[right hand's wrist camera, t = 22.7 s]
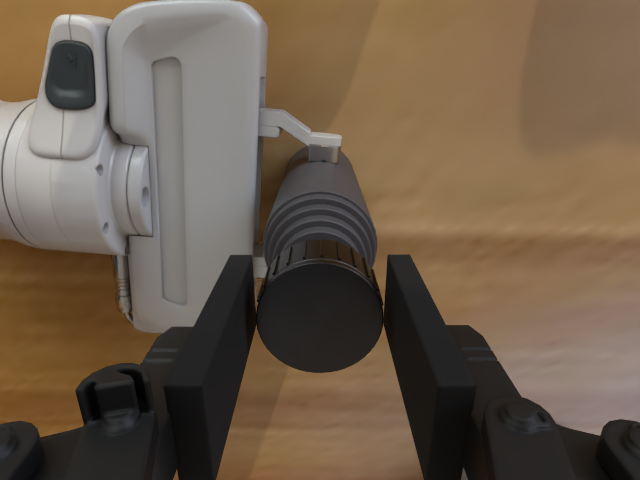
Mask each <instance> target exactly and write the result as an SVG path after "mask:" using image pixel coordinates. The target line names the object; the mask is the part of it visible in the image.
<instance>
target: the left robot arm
mask: <svg viewBox="0 0 640 480" xmlns="http://www.w3.org/2000/svg"><path fill="white" fill-rule="evenodd" d="M267 46H268V27H267V25H266V23H265V22H264V20H263V19H262V17H261V16H260V15H259V14H258V12H257V11H256V10H255V9H254V8H253V7H251V6H250V5H248V4H246V3H243V2H239V1H232V0H159V1H149V2H143V3H138V4H135V5H132V6H130V7H128V8H126V9H124V10H123V11H121V12H120V13H119V14H118V15H117V16H116V17H115V18H114V20H112V19H108V18H104V17H99V16H92V15H83V14H68V15H61V16H58V17H57V18H56V19H55V20H54V22H53V24H52V27H51V30H50V35H49V40H48V46H47V52H46V57H45V63H44V69H43V74H42V79H41V84H40V88H39V93H38V97H37V99H31V100H27V101H22V102H5V101H1V100H0V239H9V240H14V241H17V242H19V243H22V244H24V245H27V246H30V247H34V248H39V249H48V250H60V251H72V252H84V253H96V254H108V255H111V258H112V268H113V275H114V279H115V284H116V294H115V300H116V306H117V309H118V311H119V312H121V313H124V315H125V317H126V319H127V320H128V321H129V322H130V323H131V324H132V325H133V326H134V328H135V329H137V330H139V331H143V332H151V333H164V332H165V331H166V330H168V329H169V328H170V327H194V325H195V323H196V321H197V319H198V317H199V315H200V313H201V311H202V309H203V307H204V305H205V303H206V301H207V299H208V297H209V295H210V293H211V291H212V289H213V287H214V286H215V284H216V282H217V280H218V278H219V276H220V274H221V272H222V270H223V268H224V266H225V264H226V262H227V260H228V258H229V256H230V255H252V258H253V274H254V290H255V306H256V295H257V277H258V278H265V275H266V271H267V266H266V262H265V258H264V253H263V245H259V227H260V205H261V182H262V159H263V137H274V138H277V137H278V136H279V135H280V134H281V132H282V129H284V130H285V131H287V132H288V133H289V134H291V135H292V136H294V137H295V138H297V139H298V140H300V141H301V142H303V143H304V144H305V145H307V146H308V147H309V144H310V147H309V161H313V162H321V161H323V160H325V161H326V162H328V163H339V156H340V149H341V139H342V137H341V135H337V134H330V133H320V132H311V129H310V128H308V127H307V126H306V125H304V124H303V123H301V122H300V121H299V120H297V119H296V118H295V117H293V116H292V115H290V114H289V113H288V112H286V111H285V110H281V109H271V108H265V91H266V69H267ZM131 311H132V314H133V316H132V314H131Z"/></svg>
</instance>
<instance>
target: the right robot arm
mask: <svg viewBox="0 0 640 480" xmlns="http://www.w3.org/2000/svg"><path fill="white" fill-rule="evenodd" d="M256 324H257V323H256V306H255V290H254V274H253V258H252V255H230V256H229V258H228V260H227V262H226V264H225V266H224V268H223V270H222V272H221V274H220V276H219V278H218V280H217V282H216V284H215V286H214V287H213V289H212V291H211V293H210V295H209V297H208V299H207V301H206V303H205V305H204V307H203V309H202V311H201V313H200V315H199V317H198V319H197V321H196V323H195V325H194V327H170V328H169V329H168V330H166V331H165V332H164V333H162V334H161V335H160V336H159V337H157V339H156V341H155V342H154V344H153V345H152V347H151V348H150V352H148V353H147V355H146V356H145V358H144V360H143V363H141V364H140V365H137V364H134V363H120V364H116V365H112V366H108V367H105V368H103V369H100V370H98V371H96V372H94V373H92V374H91V375H90V376H88V377H87V378H86V379H84V380H83V381H82V382H81V383H80V385H79V386H78V387H77V389H76V390H75V391H76V395H77V399H78V403H79V406H80V410H81V414H82V418H83V422H84V426H83V427H80V428H77V429H74V430H70V431H66V432H62V433H57V434H53V435H49V436H45V437H41V438H40V435H39V432H38V429H37V428H36V427H35V426H34V425H33V424H32V423H28V422H23V421H17V422H9V423H4V424H1V425H0V480H173V478H174V475H175V472H176V469H177V471H178V477H179V480H216V477H217V473H218V470H219V466H220V462H221V458H222V454H223V450H224V447H225V443H226V439H227V435H228V431H229V427H230V424H231V420H232V416H233V412H234V408H235V404H236V400H237V397H238V393H239V389H240V385H241V381H242V377H243V374H244V370H245V366H246V362H247V358H248V354H249V350H250V347H251V343H252V339H253V335H254V331H255V327H256ZM383 324H384V327H385V331H386V335H387V339H388V343H389V347H390V350H391V354H392V358H393V362H394V366H395V370H396V374H397V377H398V381H399V385H400V389H401V393H402V397H403V400H404V404H405V408H406V412H407V416H408V420H409V423H410V427H411V431H412V435H413V439H414V443H415V447H416V450H417V454H418V458H419V462H420V466H421V470H422V473H423V477H424V480H640V423H639V422H636V421H630V420H622V419H619V420H614V421H609V422H608V423H607V424H606V425H605V426H604V427H603V429H602V432H601V436H598V435H594V434H590V433H586V432H581V431H577V430H573V429H569V428H566V427H562V426H560V425H558V424H556V423H555V422H554V420H553V418H552V417H551V415H550V414H549V413H548V412H547V411H546V410H544V409H543V408H542V407H541V406H540V405H538V404H536V403H534V402H532V401H530V400H528V399H526V398H523V397H521V396H520V394H519V392H518V391H517V389H516V388H515V386H514V385H513V383H512V381H511V380H510V378H509V377H508V375H507V374H506V372H505V370H504V369H503V367H502V366H501V364H500V363H499V361H497V358H496V356H495V355H494V353H493V351H491V350H490V347H489V345H488V344H487V342H486V340H485V339H484V337H483V336H482V335H481V334H479V333H478V332H477V331H475V330H474V329H473V328H471V327H470V326H469V325H445V323H444V321H443V319H442V317H441V315H440V313H439V311H438V309H437V307H436V305H435V303H434V301H433V299H432V297H431V295H430V293H429V291H428V289H427V287H426V285H425V284H424V282H423V280H422V278H421V276H420V274H419V272H418V270H417V268H416V266H415V264H414V262H413V260H412V258H411V256H410V255H388V259H387V274H386V290H385V306H384V322H383Z"/></svg>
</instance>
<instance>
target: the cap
mask: <svg viewBox="0 0 640 480" xmlns="http://www.w3.org/2000/svg"><path fill="white" fill-rule="evenodd" d="M257 302H259V303H258V306H257V312H256V323H257V329H258V332H259V335H260V337H261V339H262V341H263V343H264V345H265V346H266V348H267V349H268V350H269V351H270V352H271V353H272V354H273V355H274V356H275V357H276V358H277V359H278V360H280V361H281V362H283V363H284V364H286V365H288V366H290V367H293V368H295V369H298V370H302V371H306V372H313V373H325V372H333V371H338V370H341V369H344V368H347V367H349V366H351V365H353V364H355V363H357V362H358V361H360V360H361V359H362V358H364V357H365V356H366V355H367V354H368V353H369V352H370V351H371V350H372V348H373V347H374V346H375V344H376V342H377V341H378V339H379V337H380V334H381V331H382V327H383V319H384V317H383V308H382V305H383V301H382V297H381V294H380V290H379V287H378V283H377V281H376V277H375V273H374V270H373V269H371V268H370V266H369V264H368V263H367V262H366V258H365V257H362V256H361V255H360V254H359V253H358V252H356V251H355V250H354V248H353V247H352V248H350V247H349V246H347V245H345V244H342V243H339V241H337V242H336V241H332V240H324V239H323V238H321V239H316V240H308V241H307V240H304V242H300V243H298V244H295V245H293V246H291V245H290V246H289V248H288V249H286V250H285V251H283V252H282V253H281V254H280V255H279V254H278V255H277V256H276V259H275V260H274V261H273V262H272V264H271V266H268V268H267V271H266V275H265V278H264V279H263V281H262V285H261V288H260V292H259V295H258V299H257Z"/></svg>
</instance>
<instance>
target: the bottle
mask: <svg viewBox="0 0 640 480" xmlns="http://www.w3.org/2000/svg"><path fill="white" fill-rule="evenodd" d="M309 147H310V146H309ZM309 147H308V146H307V147H305V148H303V149H301V150H300V151H299V152H297V153H296V154H295V155H294V156H293V158H292V159H291V161H290V162H289V165H288V167H287V170H286V172H285V175H284V178H283V180H282V183H281V186H280V189H279V191H278V194H277V197H276V199H275V202H274V205H273V208H272V210H271V213H270V216H269V218H268V221H267V224H266V226H265V230H264V234H263V253H264V258H265V262H266V266H267V268H268V266H271V264H272V262H273V261H274V260H275V259H276V256H277V255H278V254H279V255H280V254H281V253H282V252H283V251H285V250H286V249H288V248H289V246H290V245H291V246H293V245H295V244H298V243H300V242H304V240H307V241H308V240H316V239H321V238H323V239H324V240H332V241H336V242H337V241H339V243H342V244H345V245H347V246H349V247H350V248H352V247H353V248H354V250H355V251H356V252H358V253H359V254H360V255H361V256H362V257H365V258H366V262H367V263H368V264H369V266H370V268H371V269H372V267H373V265H374V261H375V256H376V252H377V236H376V231H375V228H374V225H373V222H372V219H371V217H370V214H369V211H368V209H367V206H366V203H365V200H364V198H363V195H362V192H361V190H360V187H359V184H358V181H357V179H356V176H355V173H354V171H353V168H352V165H351V163H350V161H349V160H348V158H347V157H346V156H345V155H344V154H343V153H342V152H341V151H340V156H339V163H328V162H326V161H325V160H323V161H321V162H313V161H309Z"/></svg>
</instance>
